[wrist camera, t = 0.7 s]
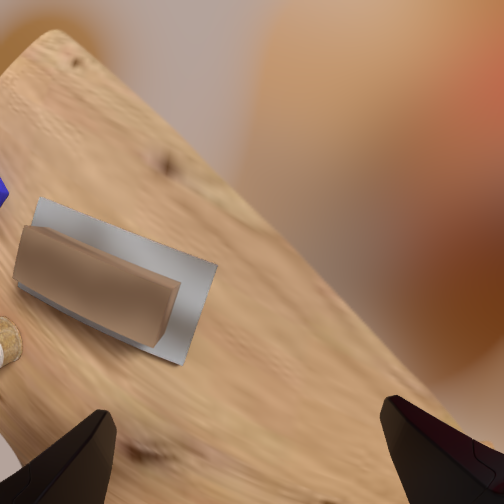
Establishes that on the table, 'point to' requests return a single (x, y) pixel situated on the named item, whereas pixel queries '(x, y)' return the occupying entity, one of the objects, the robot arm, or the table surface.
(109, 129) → the table surface
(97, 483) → the robot arm
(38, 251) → the ridge
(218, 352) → the table surface
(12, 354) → the spice jar
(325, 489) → the table surface
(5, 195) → the die
